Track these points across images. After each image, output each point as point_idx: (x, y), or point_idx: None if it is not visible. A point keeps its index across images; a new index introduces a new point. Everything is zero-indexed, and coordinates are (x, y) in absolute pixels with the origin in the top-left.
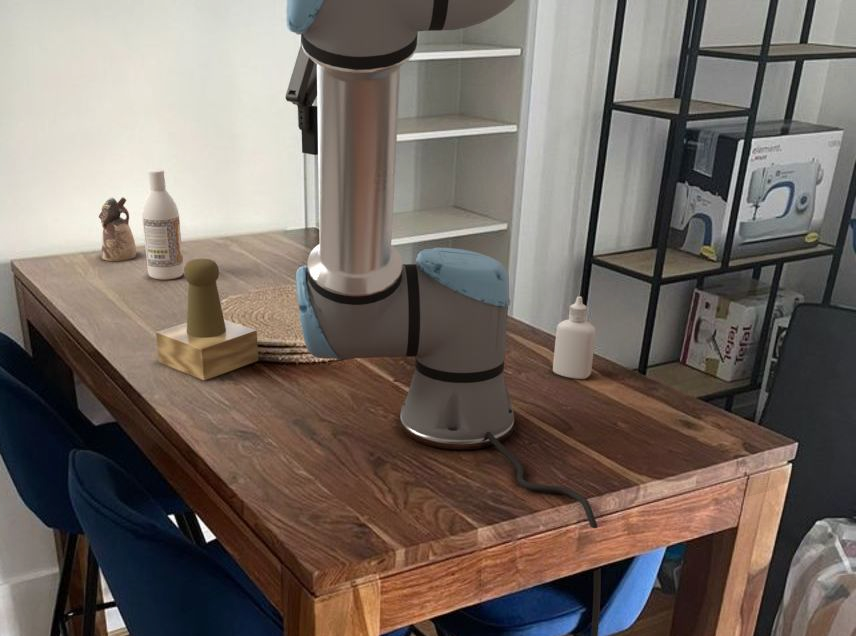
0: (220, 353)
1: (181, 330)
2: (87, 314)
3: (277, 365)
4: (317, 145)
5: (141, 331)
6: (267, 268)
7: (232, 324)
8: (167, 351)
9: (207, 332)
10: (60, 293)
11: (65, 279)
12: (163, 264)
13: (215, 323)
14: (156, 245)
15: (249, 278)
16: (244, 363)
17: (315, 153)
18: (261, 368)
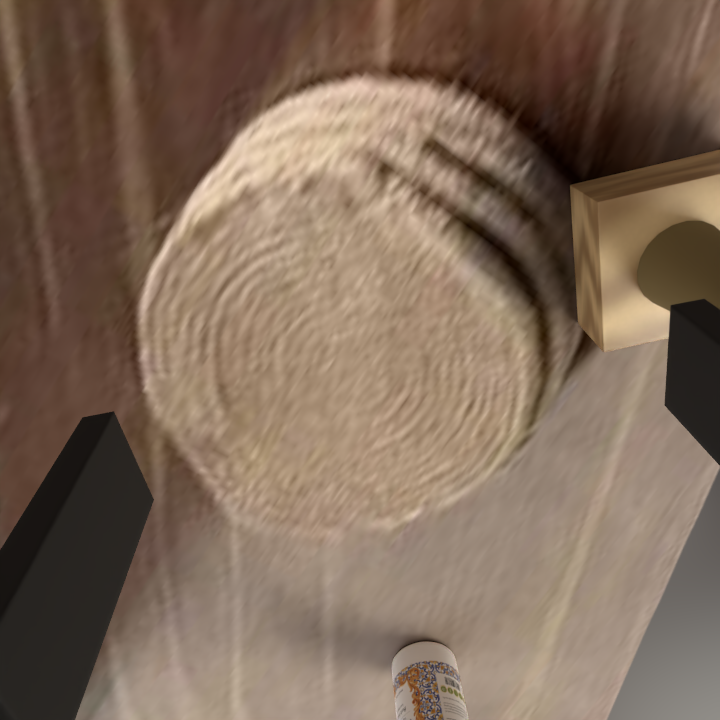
0: (703, 168)
1: None
2: (644, 561)
3: (556, 134)
4: (708, 328)
5: (631, 450)
6: (243, 620)
7: (612, 270)
8: None
9: (715, 228)
10: (612, 657)
11: (565, 704)
12: (445, 668)
13: (704, 232)
14: (460, 705)
15: (303, 591)
16: (613, 176)
17: (703, 303)
18: (593, 139)
